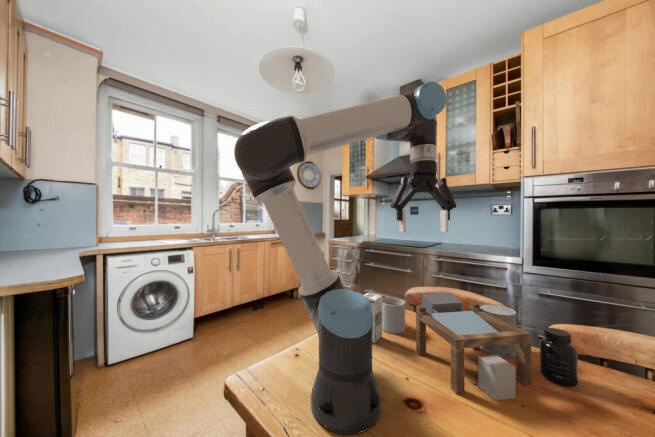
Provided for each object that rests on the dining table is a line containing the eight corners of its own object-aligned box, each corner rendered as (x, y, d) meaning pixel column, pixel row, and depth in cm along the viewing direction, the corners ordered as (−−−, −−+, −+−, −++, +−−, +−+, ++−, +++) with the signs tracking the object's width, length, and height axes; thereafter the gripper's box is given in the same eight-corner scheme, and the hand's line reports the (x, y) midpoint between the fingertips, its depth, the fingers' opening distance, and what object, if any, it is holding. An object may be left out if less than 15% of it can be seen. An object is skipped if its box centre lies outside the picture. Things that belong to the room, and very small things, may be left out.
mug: (398, 336, 82) (398, 307, 82) (374, 327, 88) (374, 301, 89) (411, 325, 90) (411, 299, 90) (388, 318, 96) (388, 294, 97)
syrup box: (367, 332, 85) (366, 292, 85) (382, 337, 81) (382, 295, 81) (359, 339, 80) (359, 296, 80) (375, 344, 77) (375, 299, 77)
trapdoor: (454, 351, 59) (457, 337, 58) (414, 305, 79) (416, 294, 78) (505, 347, 61) (508, 333, 60) (454, 302, 81) (456, 292, 80)
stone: (495, 369, 53) (495, 400, 53) (515, 367, 54) (515, 398, 54) (478, 356, 58) (478, 385, 58) (496, 354, 59) (496, 383, 59)
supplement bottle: (541, 367, 65) (540, 323, 65) (577, 379, 60) (577, 331, 60) (539, 379, 60) (538, 331, 60) (578, 393, 55) (577, 341, 55)
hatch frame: (456, 394, 55) (456, 333, 55) (416, 351, 72) (416, 305, 73) (531, 385, 57) (531, 327, 58) (475, 346, 75) (474, 302, 75)
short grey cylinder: (517, 361, 68) (516, 317, 68) (477, 350, 73) (477, 310, 73) (516, 346, 75) (515, 307, 75) (480, 337, 81) (480, 301, 81)
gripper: (389, 157, 67) (389, 232, 66) (469, 160, 70) (469, 231, 70) (379, 163, 74) (379, 231, 74) (452, 166, 78) (452, 230, 77)
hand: (423, 231), depth 72 cm, fingers open, 13 cm apart
